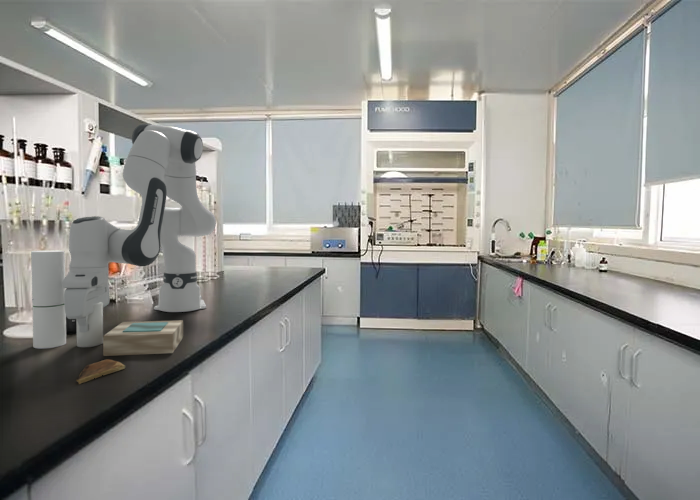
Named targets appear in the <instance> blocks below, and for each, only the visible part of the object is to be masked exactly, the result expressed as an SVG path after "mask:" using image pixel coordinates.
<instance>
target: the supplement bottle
mask: <svg viewBox="0 0 700 500" xmlns="http://www.w3.org/2000/svg"><path fill="white" fill-rule="evenodd" d="M74 334H77V320H76V319H68V318H67V316H66V335H74Z"/></svg>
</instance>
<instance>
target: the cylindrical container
mask: <svg viewBox="0 0 700 500" xmlns="http://www.w3.org/2000/svg"><path fill="white" fill-rule="evenodd" d="M30 255H31V256H30V260H31V303H32V304H31V305H32V307H31V309H32V345H33V346H32V347H33V348H35V349H42V350H43V349H53V348H57V347H61V346H64V345H66V344H67V334H66V314H65V306H64V292H65V290H66V288H62V280H63V279H64V278H65V277H66V257H65V256H66V253H65V250H61V249H60V250H59V249H56V250H55V249H52V250H32V251H30Z"/></svg>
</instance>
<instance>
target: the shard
mask: <svg viewBox="0 0 700 500" xmlns="http://www.w3.org/2000/svg"><path fill="white" fill-rule="evenodd" d="M125 368H126V365H125V364H123V363H122V362H120V361H117V360H113V359H109V358H108V359H107V358H106V359H104V360H101V361H97V362H93V363H90V364H86V365H85V367H84V368H83V369H82V371H81V372H80V374H79V375H78V377H77V378H76V382H78V383H77V384H78V385H81V384H83V383H86V382H89V381H92V380H95V379H97V378H100V377H103V376H106V375H109V374H112V373H115V372H119V371H121V370H125ZM102 375H103V376H102ZM94 378H95V379H94Z"/></svg>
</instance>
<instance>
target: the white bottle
mask: <svg viewBox="0 0 700 500" xmlns="http://www.w3.org/2000/svg"><path fill="white" fill-rule="evenodd" d="M103 310H104V307H103V303H102V302H99V303H97V304H95V305H94V312H93V313H91V314H89V315H88V319H87V322H88V324H89V331H87V332H80V331H79V324H78V322H77V333H76V346H77V347H78V348H92V347H97V346H101V345H103V336H104V315H103V313H104V311H103ZM76 320H77V319H76Z"/></svg>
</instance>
